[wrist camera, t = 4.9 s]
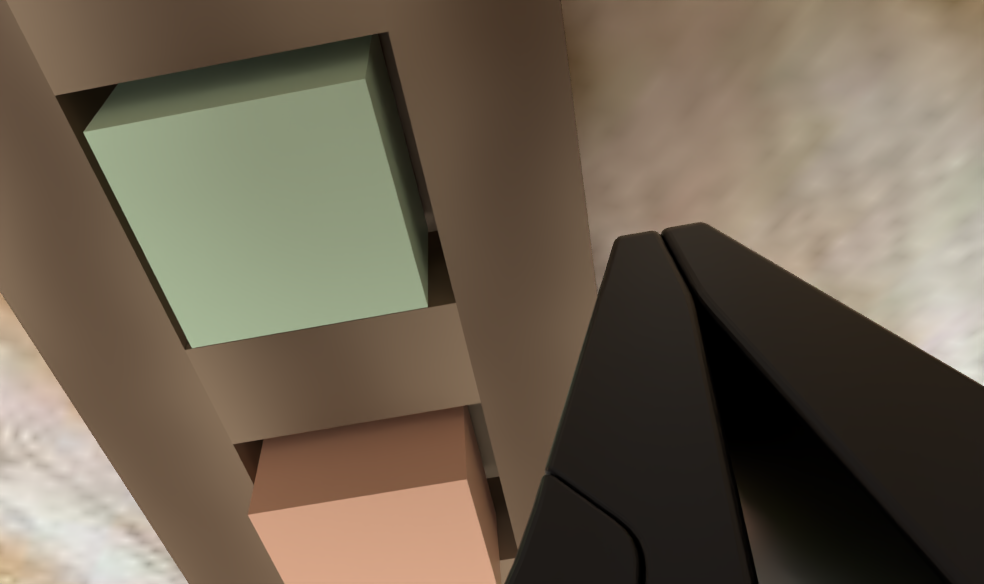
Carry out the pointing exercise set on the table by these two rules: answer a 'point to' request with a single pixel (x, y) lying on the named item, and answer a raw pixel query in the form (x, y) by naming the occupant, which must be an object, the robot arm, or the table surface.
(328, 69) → the pale green square block
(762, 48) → the table surface
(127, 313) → the key console
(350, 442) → the terracotta key
